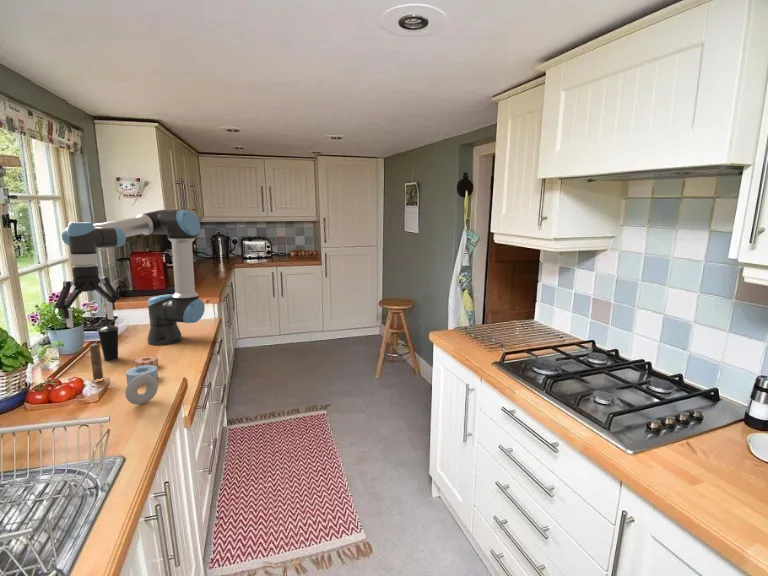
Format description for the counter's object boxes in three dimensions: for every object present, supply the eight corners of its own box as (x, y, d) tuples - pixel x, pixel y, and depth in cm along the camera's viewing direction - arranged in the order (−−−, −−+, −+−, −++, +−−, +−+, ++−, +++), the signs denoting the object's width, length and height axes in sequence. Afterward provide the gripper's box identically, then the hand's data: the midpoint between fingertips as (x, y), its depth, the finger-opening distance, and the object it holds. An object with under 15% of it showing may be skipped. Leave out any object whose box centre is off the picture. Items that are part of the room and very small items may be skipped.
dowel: (100, 378, 152) (96, 343, 150) (105, 379, 151) (101, 344, 149) (91, 381, 150) (87, 345, 147) (96, 382, 148) (92, 346, 146)
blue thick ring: (147, 373, 158) (146, 363, 157) (163, 377, 154) (162, 368, 153) (121, 382, 149) (120, 372, 148) (137, 387, 145) (136, 377, 144)
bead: (146, 363, 169) (145, 355, 168) (162, 364, 167) (162, 356, 166) (131, 370, 161) (130, 361, 160) (148, 371, 159) (147, 363, 159)
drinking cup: (111, 362, 169) (106, 317, 165) (96, 361, 170) (90, 315, 167) (126, 356, 176) (121, 312, 173) (111, 355, 178) (106, 311, 174)
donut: (130, 410, 127) (127, 381, 126) (124, 407, 129) (121, 378, 127) (161, 399, 136) (158, 371, 134) (155, 396, 137) (153, 369, 136)
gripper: (115, 262, 155) (120, 315, 159) (37, 268, 133) (45, 329, 137) (126, 263, 152) (131, 317, 156) (49, 269, 130) (57, 332, 133)
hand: (91, 323), depth 146 cm, fingers open, 13 cm apart
